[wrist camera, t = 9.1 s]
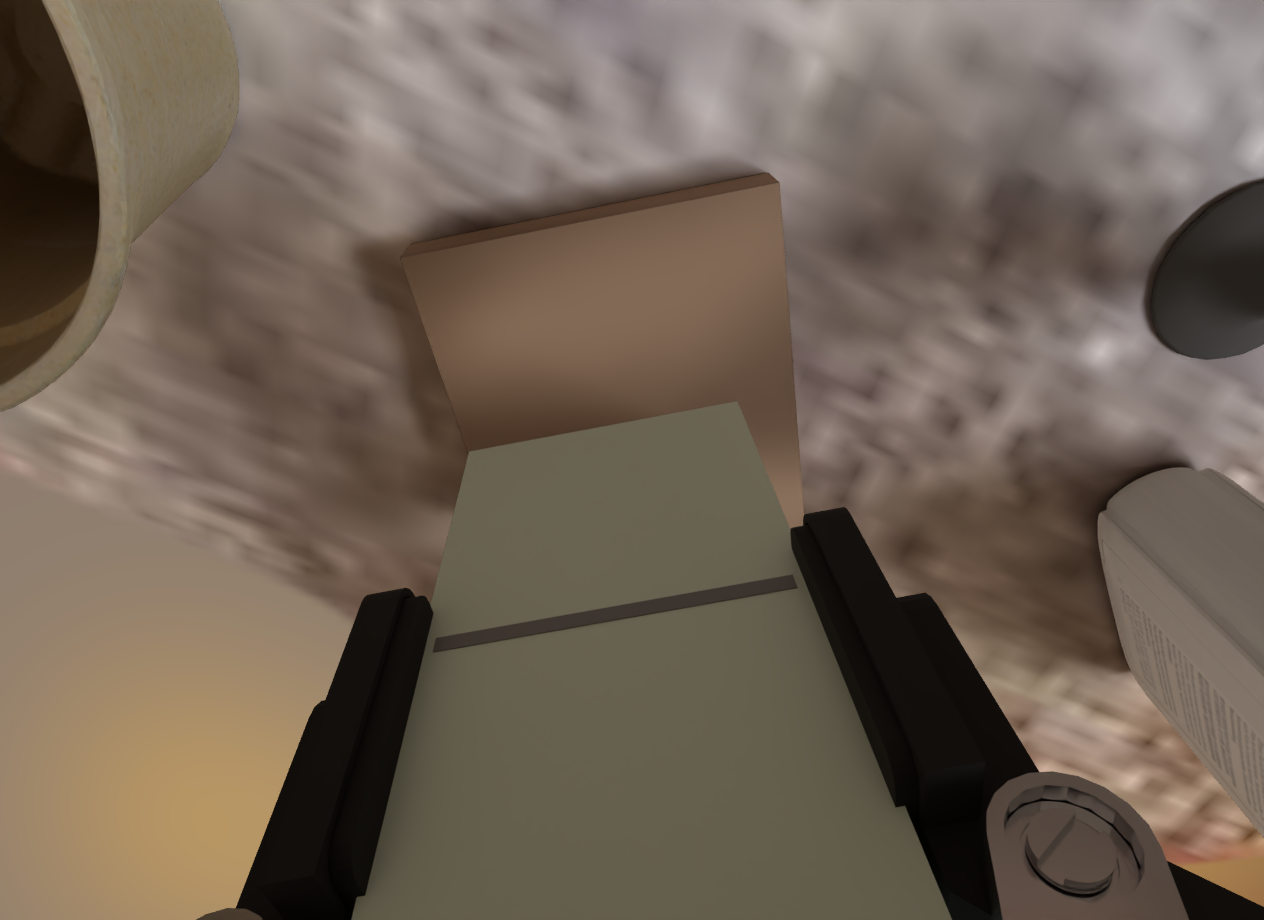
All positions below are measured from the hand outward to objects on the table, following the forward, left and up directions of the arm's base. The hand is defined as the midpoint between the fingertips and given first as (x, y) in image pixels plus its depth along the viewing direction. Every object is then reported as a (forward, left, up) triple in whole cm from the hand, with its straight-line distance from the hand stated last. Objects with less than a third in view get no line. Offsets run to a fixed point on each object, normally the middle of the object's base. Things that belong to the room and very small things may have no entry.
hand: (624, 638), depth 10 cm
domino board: (+8, 0, -11) cm, 14 cm away
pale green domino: (0, 0, -4) cm, 4 cm away
